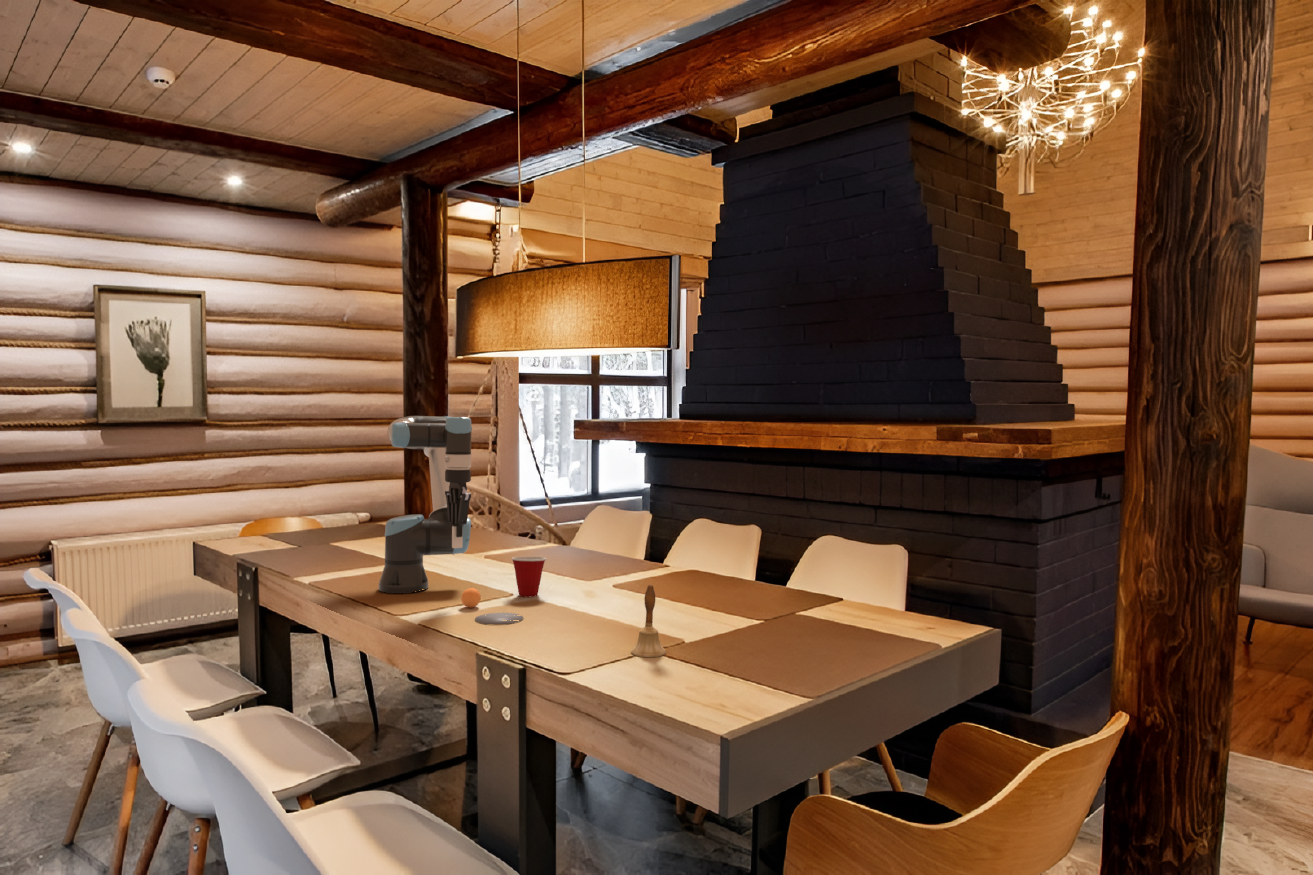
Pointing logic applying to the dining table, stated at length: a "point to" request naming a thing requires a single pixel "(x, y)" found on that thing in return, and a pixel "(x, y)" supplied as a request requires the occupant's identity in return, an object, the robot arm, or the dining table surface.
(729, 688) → the dining table surface
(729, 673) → the dining table surface
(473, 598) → the ball
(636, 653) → the hand bell
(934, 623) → the dining table surface
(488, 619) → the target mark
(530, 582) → the plastic cup
